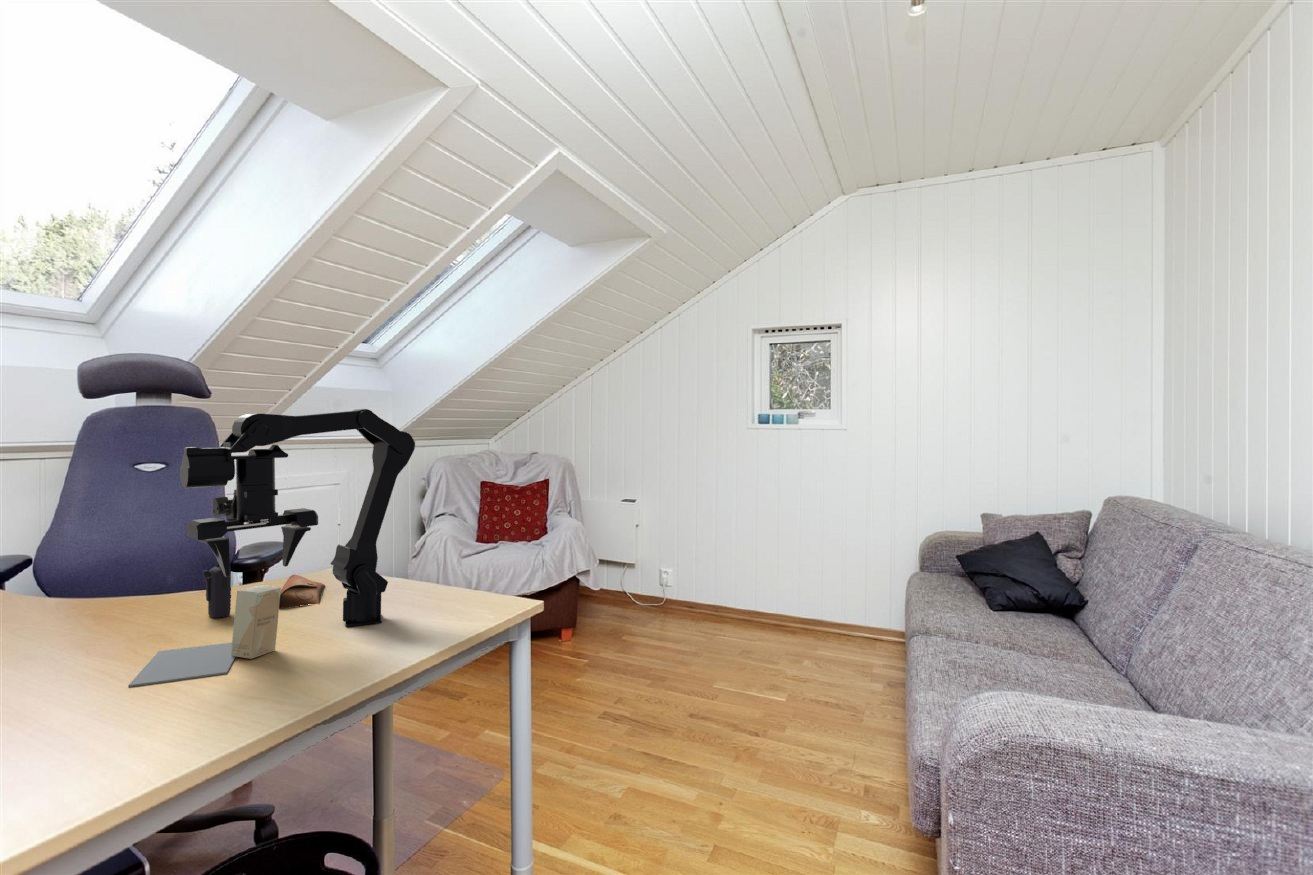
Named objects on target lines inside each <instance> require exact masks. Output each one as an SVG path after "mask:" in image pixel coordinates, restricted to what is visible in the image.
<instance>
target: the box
mask: <svg viewBox="0 0 1313 875" xmlns="http://www.w3.org/2000/svg"><path fill="white" fill-rule="evenodd" d="M281 590H282V587H279V586H272V585H268V584H260V585H255V586H250V587H246V588H243V589H239V590H237V591H236V600H235V609H234V610H235V611H234V620H233V629H232V640H231V642H232V649H231V656H236V658H237V657H239V658H244V659H255V658H259V657H260V656H263V655H266V654H269V653H271V652H274V651H276V646H277V633H278V624H279V612H280V608H279V603H280V592H281Z"/></svg>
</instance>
